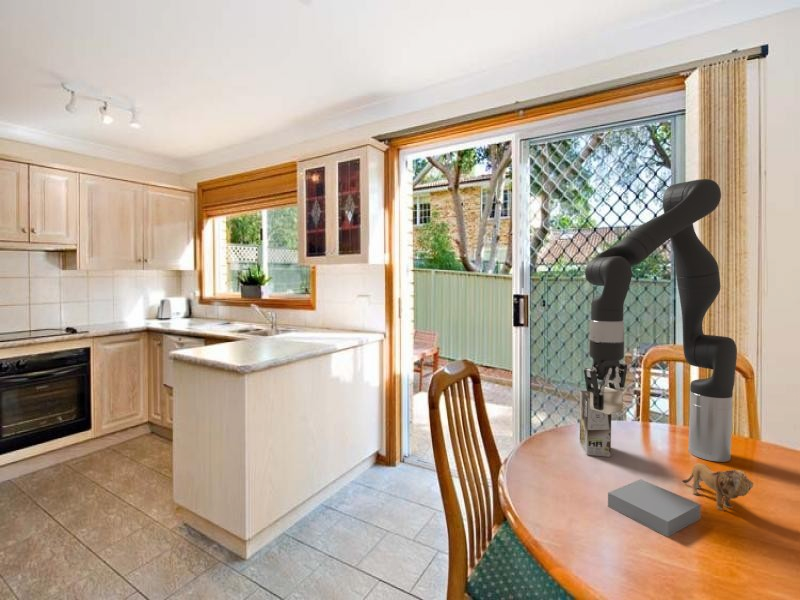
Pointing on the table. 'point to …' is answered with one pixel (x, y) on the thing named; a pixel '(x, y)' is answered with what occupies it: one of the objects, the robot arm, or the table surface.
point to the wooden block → (609, 401)
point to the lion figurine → (721, 483)
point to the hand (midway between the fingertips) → (605, 407)
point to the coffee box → (594, 428)
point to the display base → (654, 507)
